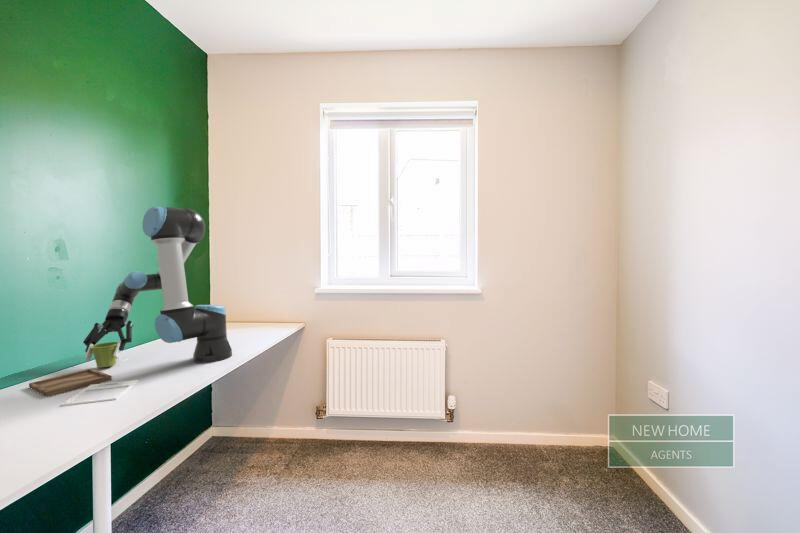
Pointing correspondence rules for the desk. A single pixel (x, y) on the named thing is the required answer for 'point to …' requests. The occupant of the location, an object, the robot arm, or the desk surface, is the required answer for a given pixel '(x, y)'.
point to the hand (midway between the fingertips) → (101, 358)
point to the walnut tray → (69, 382)
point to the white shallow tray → (99, 387)
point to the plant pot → (104, 354)
